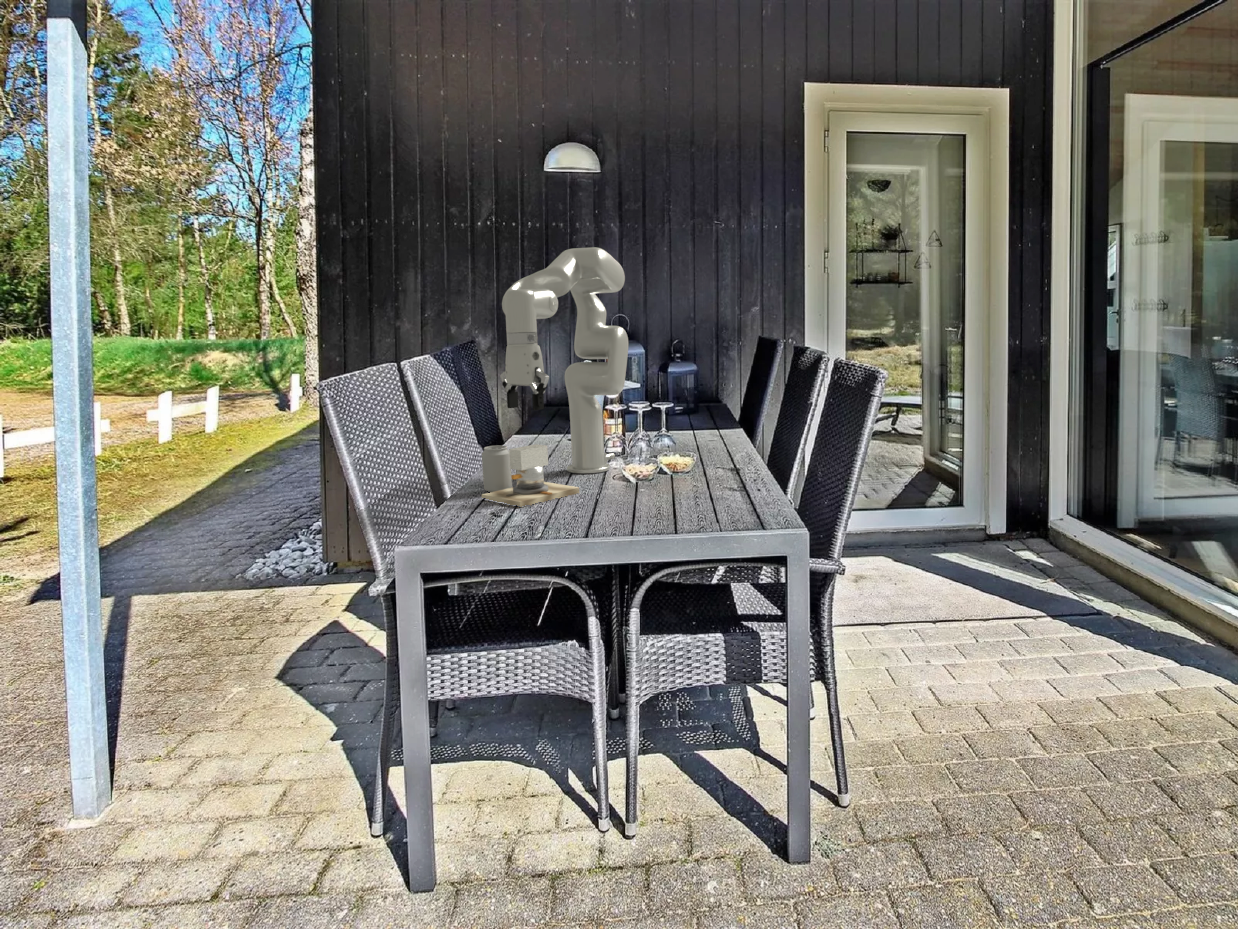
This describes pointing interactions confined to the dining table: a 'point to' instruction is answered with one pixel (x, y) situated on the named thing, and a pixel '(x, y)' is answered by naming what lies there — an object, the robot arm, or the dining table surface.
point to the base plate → (531, 494)
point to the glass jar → (529, 465)
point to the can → (496, 468)
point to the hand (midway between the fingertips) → (525, 408)
